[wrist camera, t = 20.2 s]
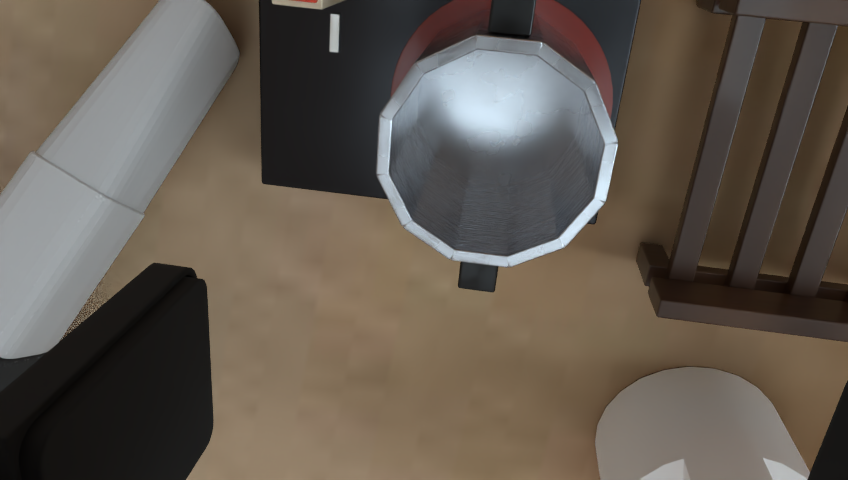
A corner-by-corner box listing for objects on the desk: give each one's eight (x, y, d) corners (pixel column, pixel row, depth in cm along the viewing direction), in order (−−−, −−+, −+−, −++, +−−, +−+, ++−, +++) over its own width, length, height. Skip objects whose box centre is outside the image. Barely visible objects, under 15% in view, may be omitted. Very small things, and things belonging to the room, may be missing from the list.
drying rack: (1036, 10, 25) (1150, 27, 21) (912, 296, 30) (982, 360, 26) (701, -21, 26) (740, -12, 22) (635, 261, 31) (656, 317, 27)
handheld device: (-25, 406, 37) (-252, 513, 22) (207, 66, 39) (144, -46, 24) (42, 443, 37) (-136, 572, 22) (268, 106, 39) (242, 19, 25)
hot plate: (633, -1, 24) (634, 0, 24) (589, 217, 28) (590, 220, 28) (399, -24, 25) (397, -23, 25) (385, 192, 29) (384, 195, 28)
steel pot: (612, -15, 24) (647, 3, 18) (568, 226, 28) (583, 312, 22) (419, -34, 25) (386, -22, 18) (401, 205, 28) (369, 284, 22)
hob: (663, -169, 24) (679, -180, 22) (590, 203, 30) (596, 226, 28) (246, -202, 26) (218, -216, 23) (253, 163, 31) (231, 182, 29)
